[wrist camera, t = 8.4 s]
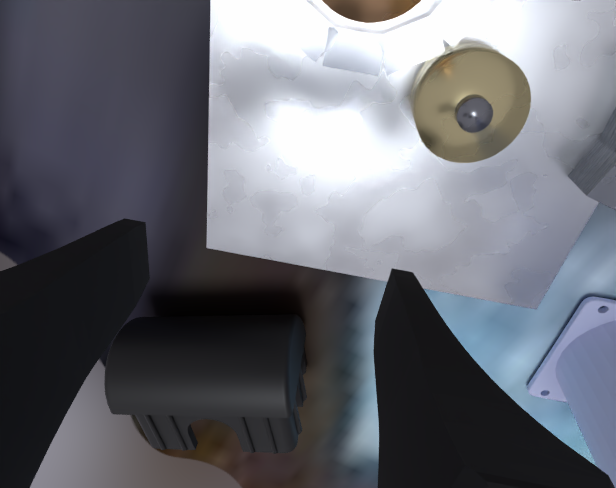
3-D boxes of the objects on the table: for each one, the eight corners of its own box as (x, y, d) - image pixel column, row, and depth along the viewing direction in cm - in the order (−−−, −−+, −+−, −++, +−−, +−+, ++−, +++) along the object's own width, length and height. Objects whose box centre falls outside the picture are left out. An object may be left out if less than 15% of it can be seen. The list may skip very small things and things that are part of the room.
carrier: (813, -208, 13) (968, -269, 10) (530, 297, 24) (557, 351, 21) (225, -303, 13) (177, -393, 10) (212, 238, 24) (187, 281, 21)
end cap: (301, 285, 26) (282, 376, 20) (315, 368, 29) (302, 464, 24) (144, 289, 27) (86, 375, 21) (177, 367, 31) (134, 458, 25)
